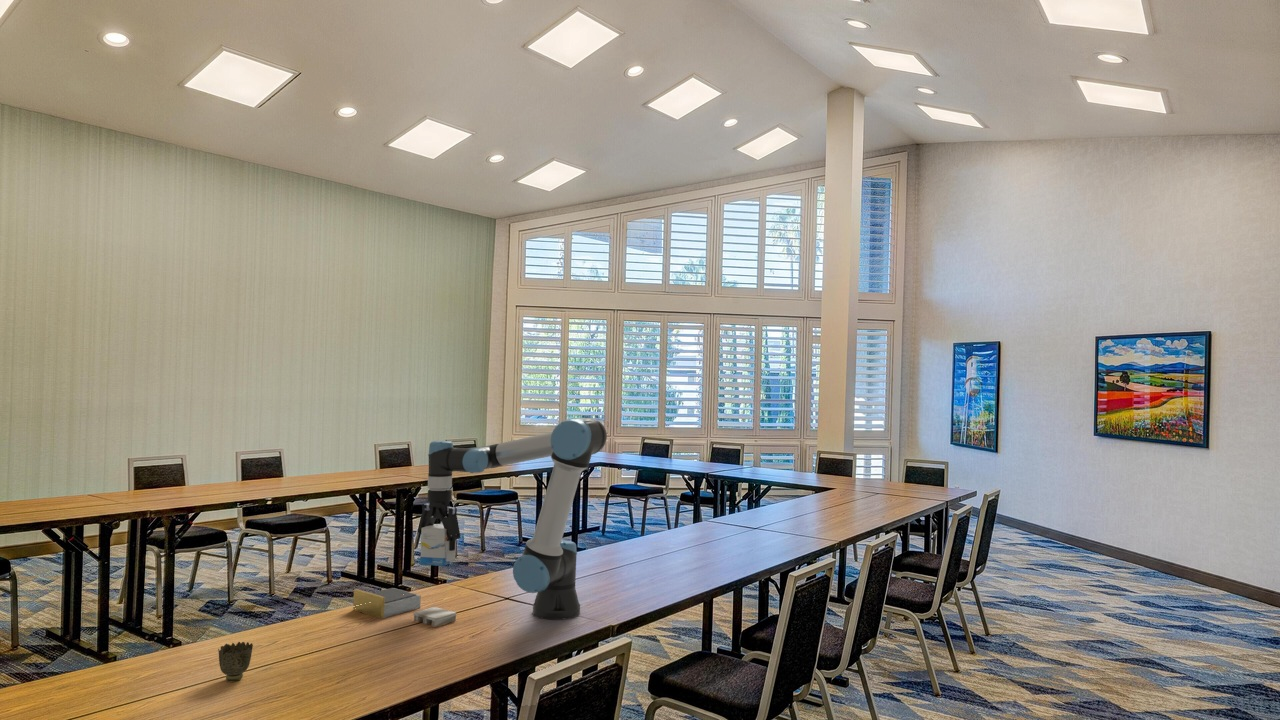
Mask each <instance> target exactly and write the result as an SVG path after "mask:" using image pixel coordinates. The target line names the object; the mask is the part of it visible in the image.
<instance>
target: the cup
mask: <svg viewBox="0 0 1280 720" xmlns="http://www.w3.org/2000/svg"><path fill="white" fill-rule="evenodd" d="M253 647H254V645H253V642H251V643H249V641H248V642H246V643H245V641H242V642H240V641H238V642H237V643H236V644H235V643H234V642H232V643H231V644H228V643H225V644H224V645H221V646H220V648H218V649H217V651H218V659H219V669H220V671H221V673H223V674H224V675H225V679H226V681H227V682H230V681H234V682H239V681H241V679H243V676H244V672H246V671H247V669H248V668H249V666H250V664H251V659H252V653H253Z"/></svg>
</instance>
